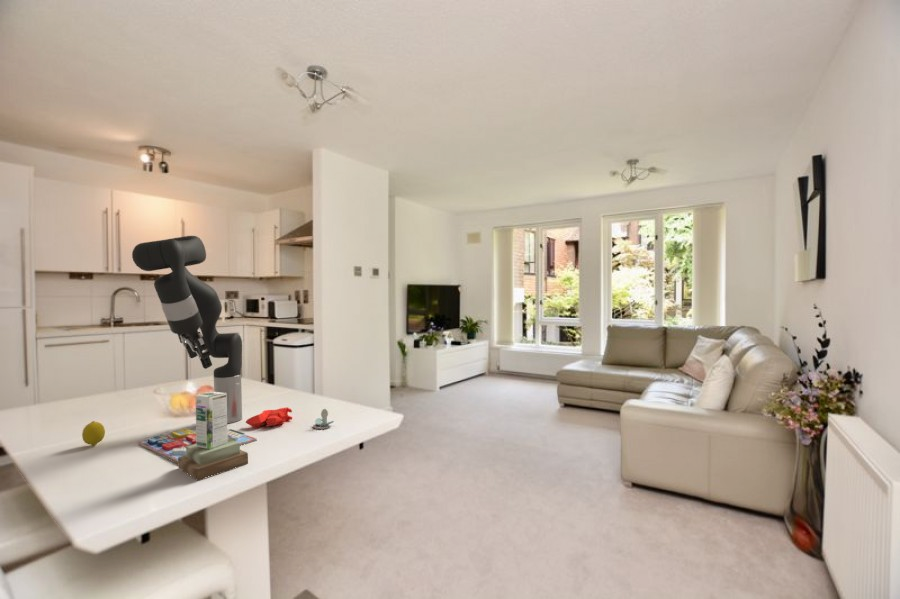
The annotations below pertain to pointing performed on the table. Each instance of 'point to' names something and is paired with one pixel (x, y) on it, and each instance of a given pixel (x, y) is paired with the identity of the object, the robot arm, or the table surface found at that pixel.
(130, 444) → the table surface
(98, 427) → the lemon
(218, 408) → the syrup box
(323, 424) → the pacifier
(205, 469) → the plinth
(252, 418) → the animal figurine
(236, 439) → the puzzle board
